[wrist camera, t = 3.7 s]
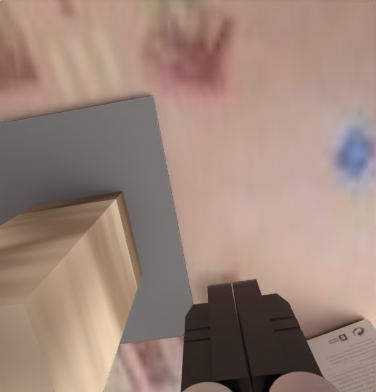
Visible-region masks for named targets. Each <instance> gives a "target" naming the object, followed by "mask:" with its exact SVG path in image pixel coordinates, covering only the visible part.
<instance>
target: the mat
mask: <svg viewBox="0 0 376 392" xmlns="http://www.w3.org/2000/svg"><path fill="white" fill-rule="evenodd" d="M121 191H123V193H124V198H125V202H126V206H127V210H128V215H129V219H130V223H131V228H132V232H133V236H134V240H135V245H136V249H137V253H138V258H139V262H140V266H141V270H142V277H141V280H140V283H139V286H138V289H137V292H136V295H135V298H134V301H133V304H132V307H131V310H130V313H129V316H128V319H127V322H126V325H125V328H124V331H123V334H122V337H121V340H120V343H119V344H123V343H131V342H139V341H147V340H156V339H164V338H172V337H180V336H184V333H185V316H186V315H187V313H188V311H189V310H190V308H191V307H192V305H193V302H192V296H191V291H190V286H189V281H188V276H187V270H186V265H185V260H184V255H183V249H182V244H181V239H180V234H179V228H178V223H177V218H176V213H175V208H174V202H173V197H172V192H171V187H170V181H169V176H168V171H167V166H166V160H165V155H164V150H163V145H162V140H161V134H160V129H159V124H158V119H157V113H156V108H155V103H154V98H153V96H147V97H142V98H136V99H131V100H125V101H120V102H114V103H109V104H103V105H98V106H92V107H87V108H82V109H76V110H71V111H65V112H60V113H54V114H49V115H43V116H38V117H32V118H27V119H21V120H16V121H10V122H5V123H0V226H1V225H2V224H4V223H6V222H7V221H9V220H11V219H12V218H14V217H16V216H17V215H19V214H21V213H22V212H24V211H26V210H27V209H29V208H31V207H32V206H34V205H40V204H46V203H52V202H59V201H65V200H71V199H77V198H84V197H90V196H96V195H102V194H109V193H115V192H121Z"/></svg>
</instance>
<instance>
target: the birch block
mask: <svg viewBox="0 0 376 392" xmlns="http://www.w3.org/2000/svg"><path fill="white" fill-rule="evenodd" d="M141 277H142V270H141V266H140V262H139V258H138V253H137V249H136V245H135V240H134V236H133V232H132V228H131V223H130V219H129V215H128V210H127V206H126V202H125V198H124V193H123V191H121V192H115V193H109V194H102V195H96V196H90V197H84V198H77V199H71V200H65V201H59V202H52V203H46V204H40V205H34V206H32V207H31V208H29V209H27V210H26V211H24V212H22V213H21V214H19V215H17V216H16V217H14V218H12V219H11V220H9V221H7V222H6V223H4V224H2V225H1V226H0V392H103V391H104V388H105V385H106V382H107V379H108V376H109V373H110V370H111V367H112V364H113V361H114V358H115V355H116V352H117V349H118V346H119V343H120V340H121V337H122V334H123V331H124V328H125V325H126V322H127V319H128V316H129V313H130V310H131V307H132V304H133V301H134V298H135V295H136V292H137V289H138V286H139V283H140V280H141Z"/></svg>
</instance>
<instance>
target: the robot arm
mask: <svg viewBox="0 0 376 392" xmlns="http://www.w3.org/2000/svg"><path fill="white" fill-rule="evenodd" d="M233 290H234V296H235V303H236V309H235V303H234V298H233V293H232V288H231V283H225V284H217V285H210V286H208V303H203V304H195V305H192V307H191V308H190V310H189V311H188V313H187V315H186V316H185V333H184V347H183V365H182V383H181V392H339V391H338V389H337V388H336V387H335V386H334V385H333V384H332V383H330V382H329V381H328V380H326V379H325V378H324V376H323V374H322V373H321V371H320V368H319V366H318V364H317V362H316V360H315V358H314V356H313V353H312V351H311V349H310V347H309V345H308V343H307V341H306V339H305V336H304V334H303V332H302V330H301V329H300V326H299V324H298V321H297V319H296V318H295V315H294V313H293V311H292V309H291V307H290V304H289V303H288V302H287V301H286V300H284V299H283V298H282V297H281V296H279V295H278V294H270V295H261V292H260V289H259V286H258V283H257V280H256V279H253V280H246V281H239V282H233ZM236 310H237V314H236ZM237 316H238V319H237ZM238 323H239V324H238ZM250 389H251V390H250Z"/></svg>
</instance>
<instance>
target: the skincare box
mask: <svg viewBox="0 0 376 392" xmlns="http://www.w3.org/2000/svg"><path fill="white" fill-rule="evenodd" d="M307 343H308V345H309V347H310V349H311V351H312V353H313V356H314V358H315V360H316V362H317V364H318V366H319V368H320V371H321V373H322V374H323V376H324V378H325V379H326V380H328V381H329V382H330V383H332V384H333V385H334V386H335V387H336V388H337V389H338V391H339V392H376V328H375V327H374V326H373V324H372V323H371V322H370V321H369V320H368V319H365V320H362V321H359V322H356V323H353V324H350V325H348V326H345V327H343V328H340V329H337V330H334V331H332V332H329V333H327V334H324V335H321V336H318V337H315V338H312V339H310V340H307Z"/></svg>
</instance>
